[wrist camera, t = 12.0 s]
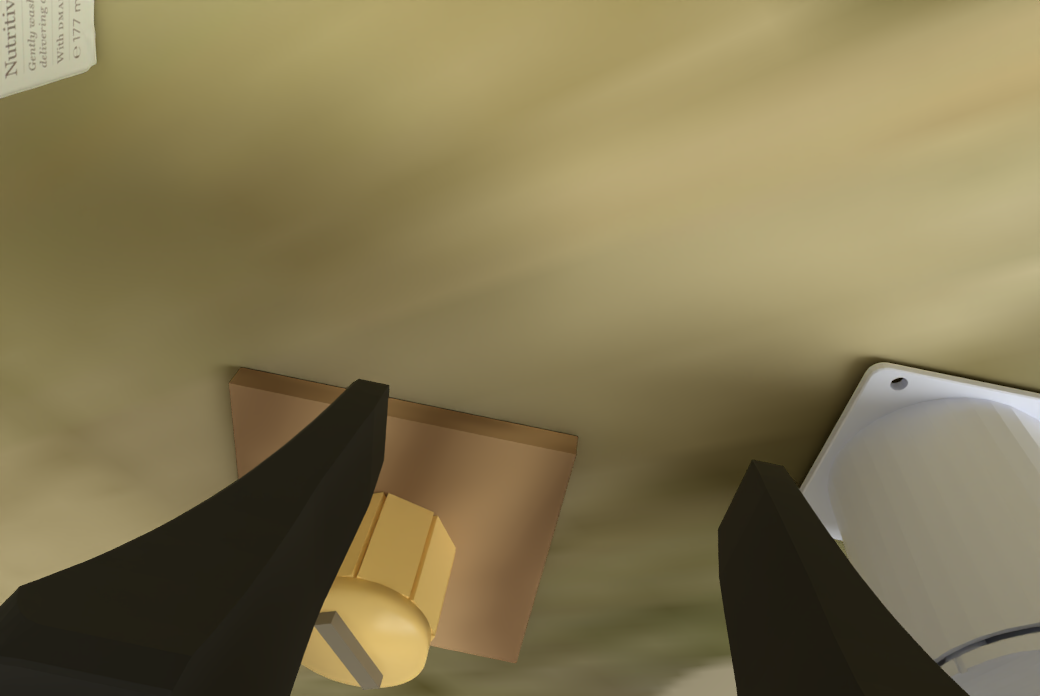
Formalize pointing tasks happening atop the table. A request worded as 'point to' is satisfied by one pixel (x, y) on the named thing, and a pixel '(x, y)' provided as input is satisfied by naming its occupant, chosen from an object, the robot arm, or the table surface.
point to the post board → (443, 495)
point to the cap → (384, 598)
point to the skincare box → (44, 42)
